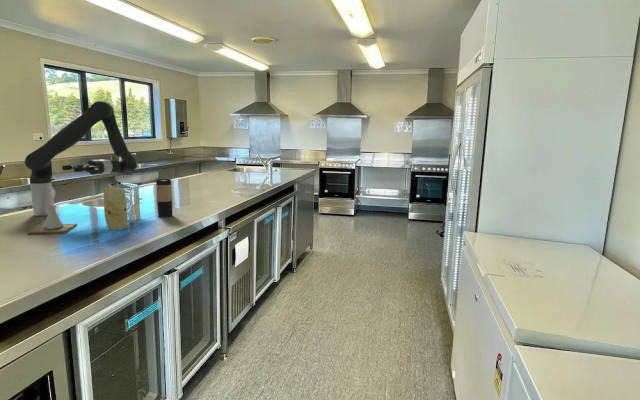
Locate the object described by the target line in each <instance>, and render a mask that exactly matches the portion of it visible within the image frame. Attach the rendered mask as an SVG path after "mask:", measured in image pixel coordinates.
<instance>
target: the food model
mask: <svg viewBox="0 0 640 400" xmlns="http://www.w3.org/2000/svg"><path fill="white" fill-rule="evenodd" d="M127 204H128V203H127V197H126V190H125V188H123V187H118V186H109V187H106V188H103V212H104V217H105V224H106V226H107V228H108V230H109V229H110V230H112V231H115V232H116V231H121V230H124V229H127V228H128V227H129V226H128V225H129V224H128V205H127Z"/></svg>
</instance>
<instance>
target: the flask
mask: <svg viewBox="0 0 640 400" xmlns="http://www.w3.org/2000/svg"><path fill="white" fill-rule="evenodd" d="M47 208H48V215H46V219H45V223H44V224H43V225H44V227H43V228H44V229H57V228H61V227H63V224H64V223H63V222H62V221H61V218H59V215H58V213H57V210H56V208H57V206H56V205H54V206H48V207H47Z"/></svg>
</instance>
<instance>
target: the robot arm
mask: <svg viewBox="0 0 640 400" xmlns="http://www.w3.org/2000/svg"><path fill="white" fill-rule="evenodd" d="M99 122H102V123H103V126H104V127H105V131H106V133H107V138H108V142H109V144H110V146H111V149H112V151H113V154H114V156H116V157H121V160H118V159H90V160H89V161H87V163H74V164H68V165H67V164H66V165H61V170H62V171H73V172H75V173H78V172H79V173H80V172H81V173H82V172H83V173H89V174H90V175H92V176H95V175H98V176H99V175H107V174H114V173H119V174H125V173H128V172H132V171H134V170H135V171H136V169H137V168H138V162H137V160H136V159H135V157H134V155H132V153H131V151H130V150H129V149H128V147H127V144H126V142H125V139H124V137H123V135H122V133H121V131H120V129H119V126H118V123H117V119H116V115H115V111H114V108H113V105H111V104H110V103H109V102H108V101H107V102H106V101H104V100H97V101H94V102H93V103H92V104H91V105H90V106H89V107H88V108H87V109H86V110H84V112H83V113H82V114H81V115H80V116H78V117H77V118H75V119H73V120H72V121H70V123H68V124H66V125H65V126H64V127H63V128H61V129H60V130H59V131H57V133H56V134H55V135H53V136H52V137H51V138H50V139H49V140H48V141H46V143H45V144H43V145H42V146H40V147H38V148H37V149H35V150H33V151H32V152H31V153H29V154H27V155H26V156H25V158H24V164H25V166H26V167H27V169H29V170H30V171H31V175H30V177H29V186H30V196H31V203H32V212H33V216H37V217H41V216H42V217H43V216H48V208H47V207H48V206H55V203H54V201H55V200H54V192H53V183H52V181H53V180H52V178H53V167H52V159H54V158H55V157H56V156H58V155H59V154H61V153H63V152H64V151H67V150H68V149H70V148H71V147H74V146H75V145H76V144H77V143H79V142H80V141H81V140H82V139H83V138H84V137H85V136H86V135H87V133H88V132H89V131H90V130H91V128H92V127H93V126H95V125H96V124H97V123H99Z"/></svg>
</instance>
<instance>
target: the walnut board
mask: <svg viewBox="0 0 640 400" xmlns="http://www.w3.org/2000/svg"><path fill="white" fill-rule="evenodd" d="M62 224H63V227H61V228H57V229H44V228H43V227H44V225H45V224H42V225H40V226H38V227H36V228H34V229H32V230H30V231H27V235H28V236H29V235H31V236H32V235H59V234H60V235H61V234H62V235H63V234H66V233H67V232H69V231H71V230H72V229H75V228H76V227H78V223H62Z"/></svg>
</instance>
